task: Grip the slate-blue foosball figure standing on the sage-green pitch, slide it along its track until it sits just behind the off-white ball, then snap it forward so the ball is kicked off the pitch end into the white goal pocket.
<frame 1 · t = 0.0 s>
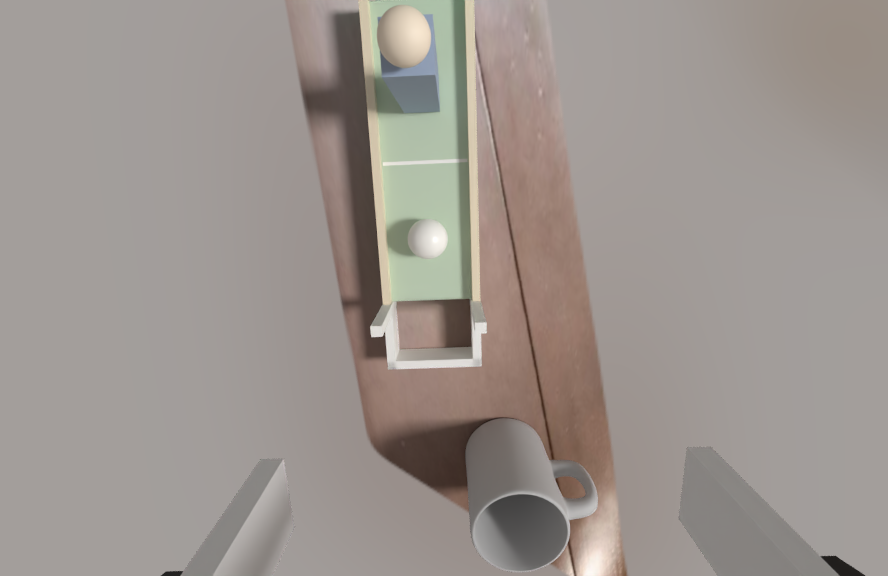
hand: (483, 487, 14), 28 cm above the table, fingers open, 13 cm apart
mug: (519, 448, 45), on the table
goal: (434, 325, 42), on the table
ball: (427, 239, 36), point 4 cm above the table, touching pitch
pitch: (426, 163, 38), on the table
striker: (413, 68, 27), point 10 cm above the table, slide at 0.0 cm
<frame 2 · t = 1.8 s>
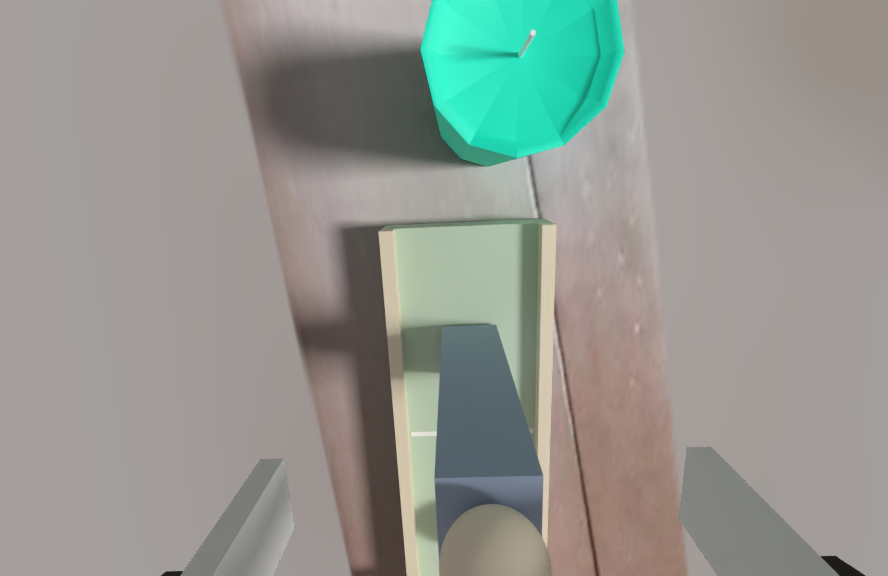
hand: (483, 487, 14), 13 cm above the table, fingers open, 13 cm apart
pitch: (470, 414, 27), on the table
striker: (478, 427, 16), point 10 cm above the table, slide at 0.0 cm
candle: (489, 109, 22), on the table
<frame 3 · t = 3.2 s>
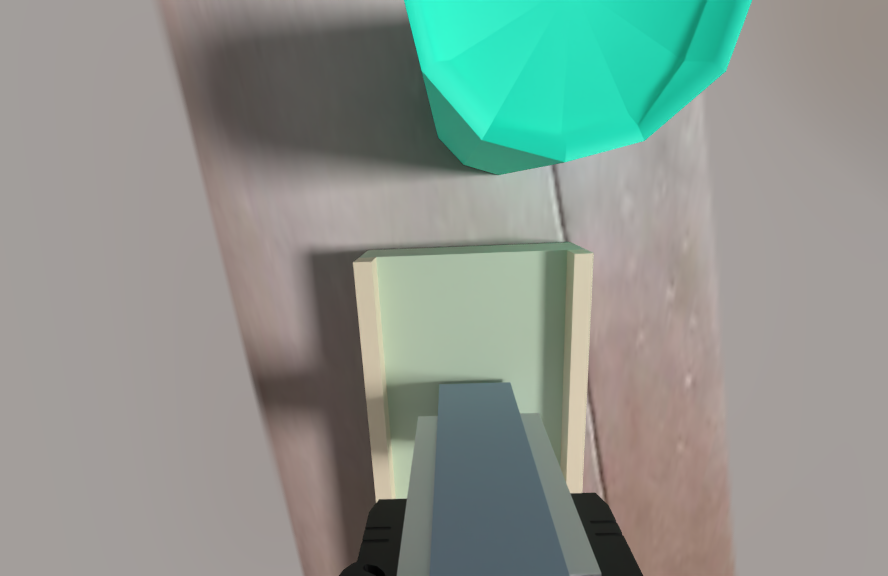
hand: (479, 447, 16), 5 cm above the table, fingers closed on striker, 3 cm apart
pitch: (475, 485, 21), on the table
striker: (493, 570, 11), point 10 cm above the table, slide at 0.0 cm, touching gripper
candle: (500, 99, 17), on the table
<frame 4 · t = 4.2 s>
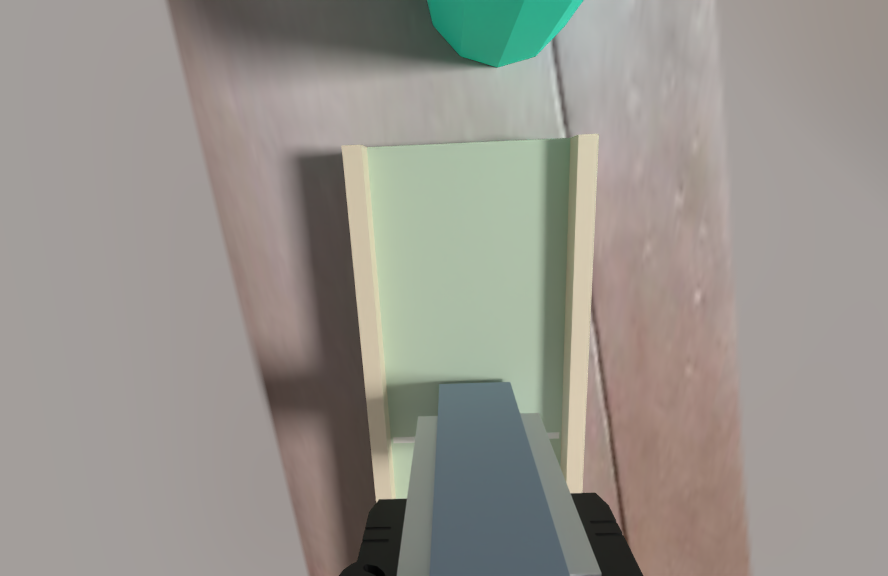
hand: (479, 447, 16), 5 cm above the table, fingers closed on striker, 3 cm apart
pitch: (473, 413, 20), on the table
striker: (493, 570, 11), point 10 cm above the table, slide at 4.2 cm, touching gripper
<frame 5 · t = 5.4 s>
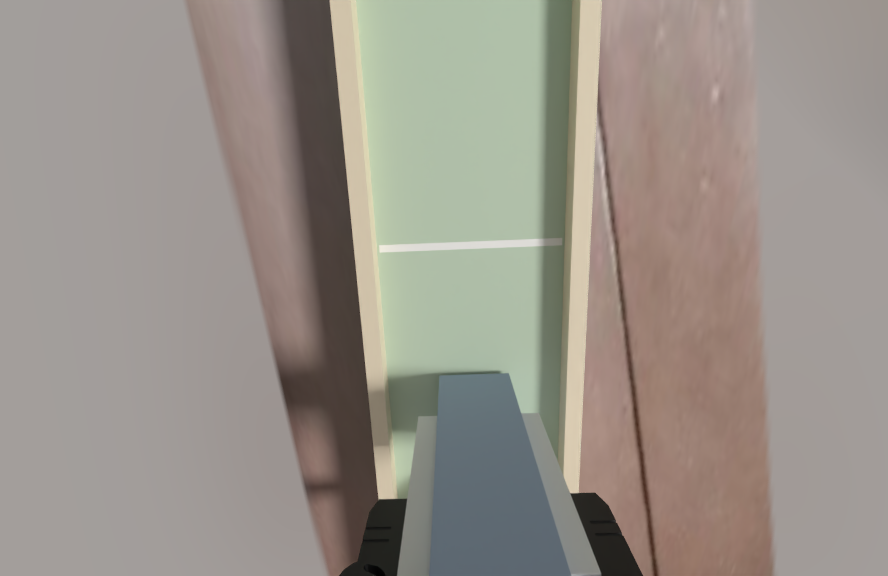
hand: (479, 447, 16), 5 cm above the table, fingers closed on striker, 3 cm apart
pitch: (468, 238, 19), on the table
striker: (491, 551, 11), point 10 cm above the table, slide at 12.6 cm, touching gripper
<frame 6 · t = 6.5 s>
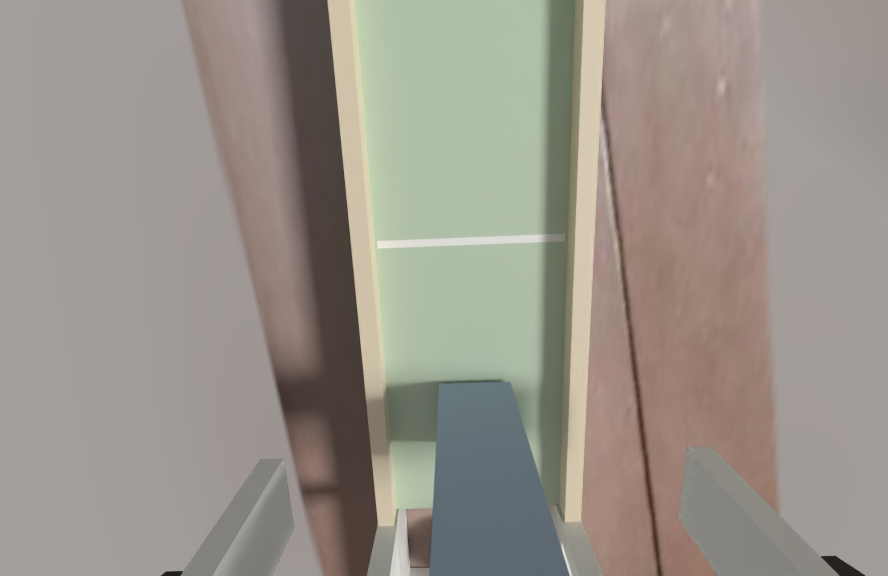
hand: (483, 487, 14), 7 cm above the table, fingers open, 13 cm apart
goal: (476, 529, 22), on the table
pitch: (468, 235, 18), on the table
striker: (492, 570, 11), point 10 cm above the table, slide at 13.0 cm
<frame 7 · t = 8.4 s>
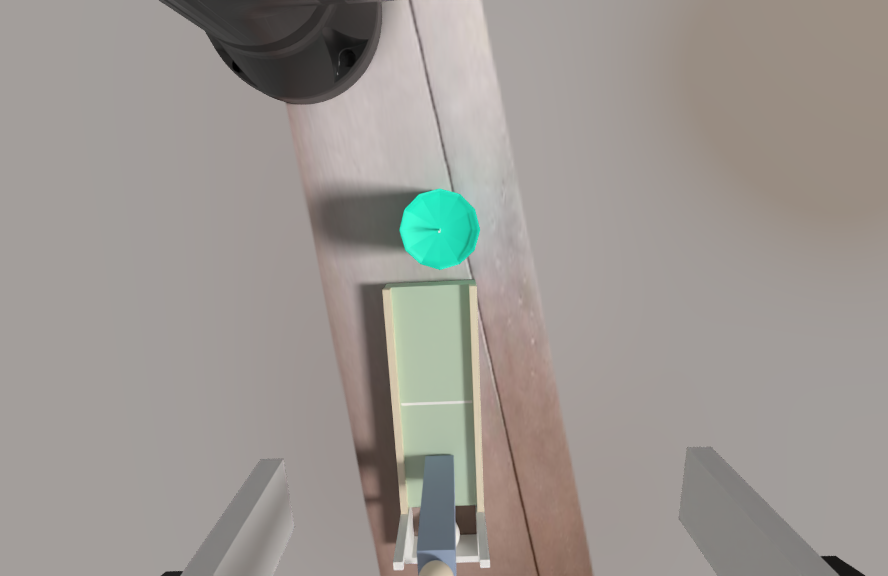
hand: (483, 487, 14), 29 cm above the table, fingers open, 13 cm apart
goal: (444, 517, 48), on the table
pitch: (437, 393, 45), on the table
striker: (438, 521, 37), point 10 cm above the table, slide at 13.0 cm
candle: (442, 221, 41), on the table
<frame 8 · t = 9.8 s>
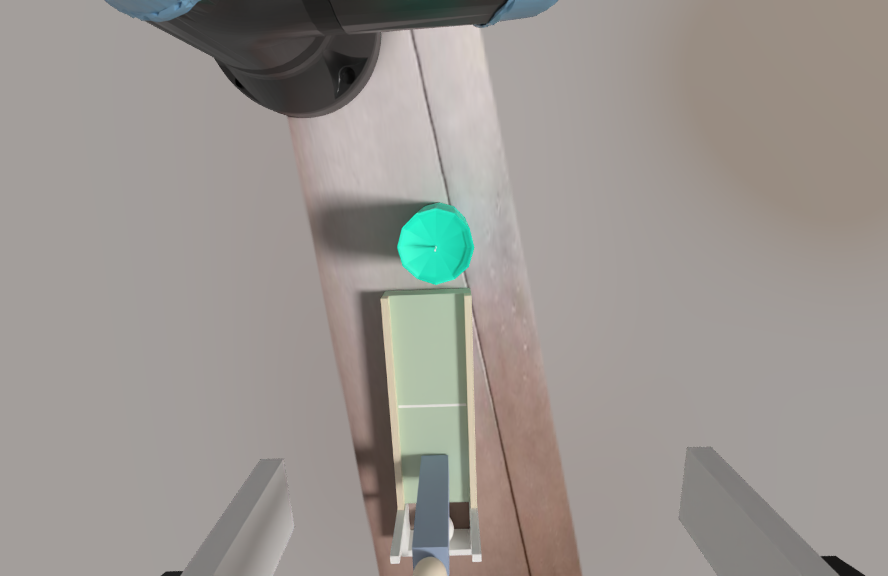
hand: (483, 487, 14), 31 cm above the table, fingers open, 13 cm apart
goal: (439, 512, 50), on the table
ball: (439, 528, 49), point 2 cm above the table, tilted 56°
pitch: (433, 396, 47), on the table
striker: (432, 518, 39), point 10 cm above the table, slide at 13.0 cm
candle: (439, 232, 42), on the table
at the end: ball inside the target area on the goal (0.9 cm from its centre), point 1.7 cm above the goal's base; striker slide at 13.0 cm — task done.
